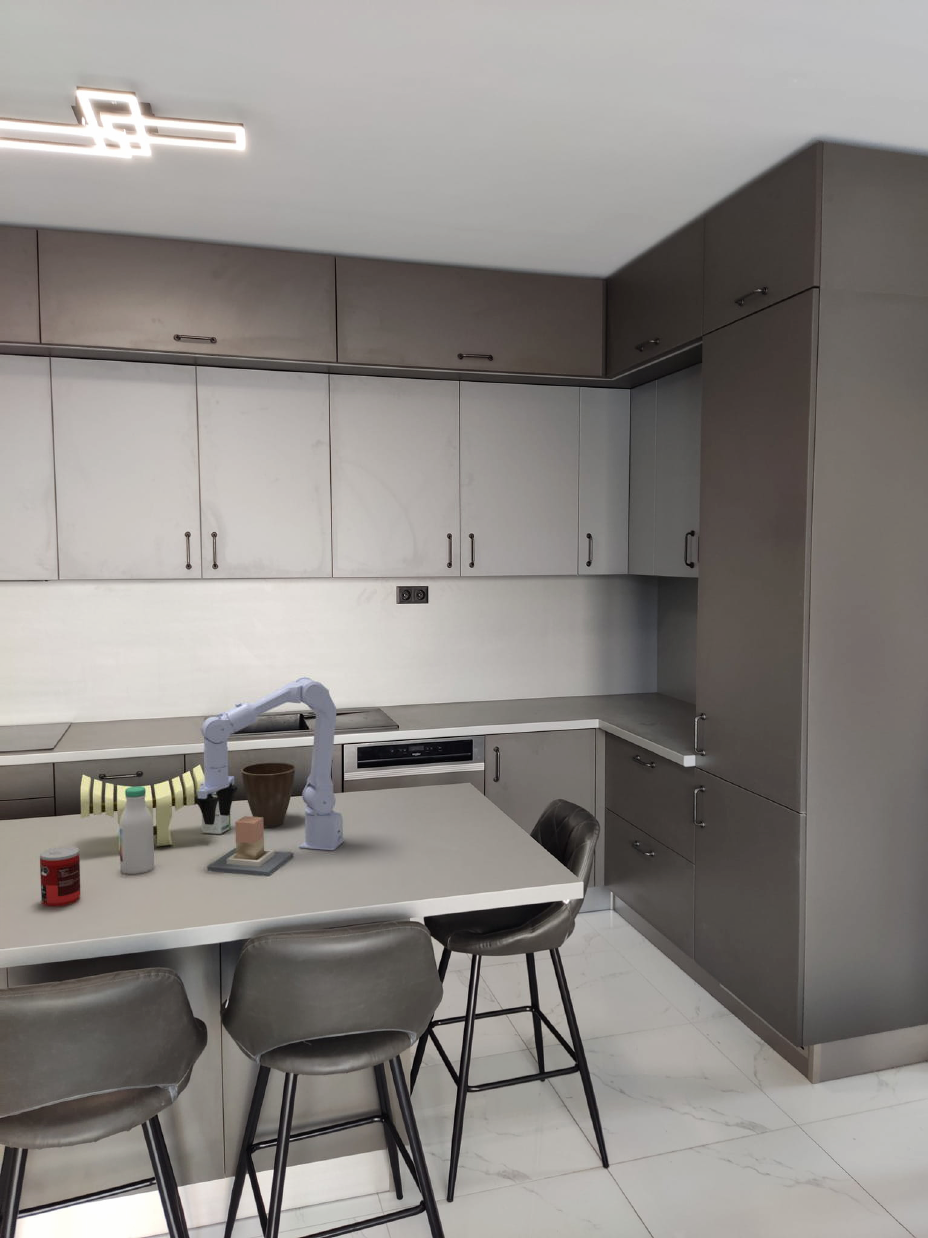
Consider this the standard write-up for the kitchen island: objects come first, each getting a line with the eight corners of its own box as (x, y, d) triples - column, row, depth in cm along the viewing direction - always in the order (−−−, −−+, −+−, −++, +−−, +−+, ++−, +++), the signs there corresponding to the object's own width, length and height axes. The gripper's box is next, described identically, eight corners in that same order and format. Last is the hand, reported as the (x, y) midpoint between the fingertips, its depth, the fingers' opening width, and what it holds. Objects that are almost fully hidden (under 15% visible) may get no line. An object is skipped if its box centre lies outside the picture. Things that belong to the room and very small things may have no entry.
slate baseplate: (292, 856, 221) (292, 848, 221) (268, 876, 208) (268, 867, 207) (235, 851, 225) (234, 843, 225) (207, 870, 211) (207, 861, 211)
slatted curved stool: (82, 859, 219) (80, 789, 218) (84, 839, 234) (82, 774, 233) (206, 844, 230) (205, 778, 229) (201, 827, 245) (199, 764, 244)
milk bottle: (161, 866, 214) (159, 785, 213) (139, 876, 207) (137, 793, 206) (135, 862, 217) (133, 783, 216) (113, 872, 210) (111, 791, 208)
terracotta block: (263, 837, 218) (263, 817, 217) (254, 843, 213) (254, 823, 212) (245, 835, 219) (244, 816, 218) (235, 842, 214) (235, 822, 214)
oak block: (264, 856, 218) (264, 837, 218) (255, 863, 213) (254, 843, 213) (245, 855, 219) (245, 835, 219) (236, 862, 214) (236, 842, 214)
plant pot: (231, 825, 247) (230, 769, 246) (270, 813, 259) (269, 759, 258) (267, 835, 238) (266, 777, 237) (306, 821, 250) (306, 766, 249)
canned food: (49, 894, 196) (47, 846, 196) (85, 893, 197) (84, 845, 196) (35, 908, 189) (33, 858, 188) (73, 907, 189) (72, 857, 189)
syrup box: (220, 834, 238) (221, 781, 238) (201, 832, 239) (201, 780, 239) (230, 829, 243) (231, 777, 243) (211, 827, 245) (211, 776, 245)
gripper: (216, 758, 224) (217, 810, 225) (185, 772, 210) (187, 827, 211) (241, 760, 223) (242, 812, 224) (212, 773, 209) (213, 829, 210)
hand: (217, 819), depth 217 cm, fingers open, 7 cm apart
